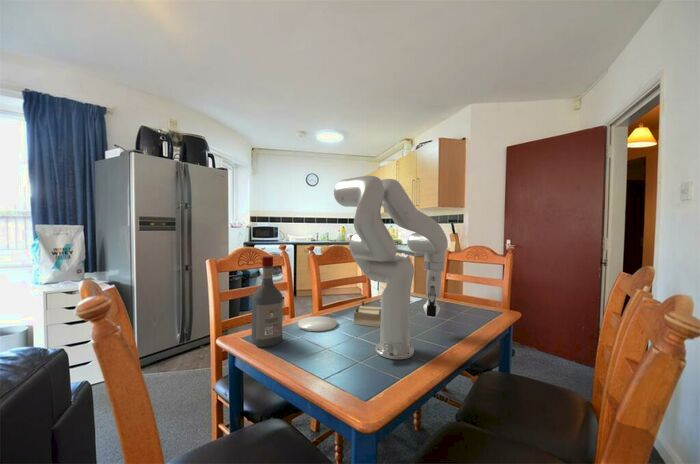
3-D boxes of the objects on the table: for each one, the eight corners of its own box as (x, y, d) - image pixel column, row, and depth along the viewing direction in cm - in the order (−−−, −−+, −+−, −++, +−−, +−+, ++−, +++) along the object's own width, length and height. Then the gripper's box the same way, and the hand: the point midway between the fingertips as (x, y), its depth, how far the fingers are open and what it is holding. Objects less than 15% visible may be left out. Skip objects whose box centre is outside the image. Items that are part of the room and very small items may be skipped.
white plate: (328, 334, 113) (328, 330, 113) (290, 329, 118) (290, 326, 118) (341, 321, 129) (341, 318, 129) (307, 317, 133) (307, 314, 133)
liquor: (284, 343, 104) (285, 257, 103) (258, 349, 99) (258, 258, 98) (274, 335, 111) (275, 255, 111) (250, 340, 106) (250, 256, 105)
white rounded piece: (424, 313, 117) (425, 296, 117) (440, 316, 114) (441, 298, 115) (421, 317, 111) (422, 298, 111) (438, 320, 109) (439, 300, 109)
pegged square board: (382, 327, 122) (382, 310, 121) (354, 324, 125) (354, 307, 125) (387, 318, 133) (387, 303, 133) (361, 315, 137) (361, 300, 136)
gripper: (444, 269, 104) (442, 321, 103) (443, 266, 120) (441, 310, 120) (422, 267, 106) (419, 318, 106) (424, 264, 123) (422, 308, 122)
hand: (431, 313), depth 113 cm, fingers closed on white rounded piece, 6 cm apart
